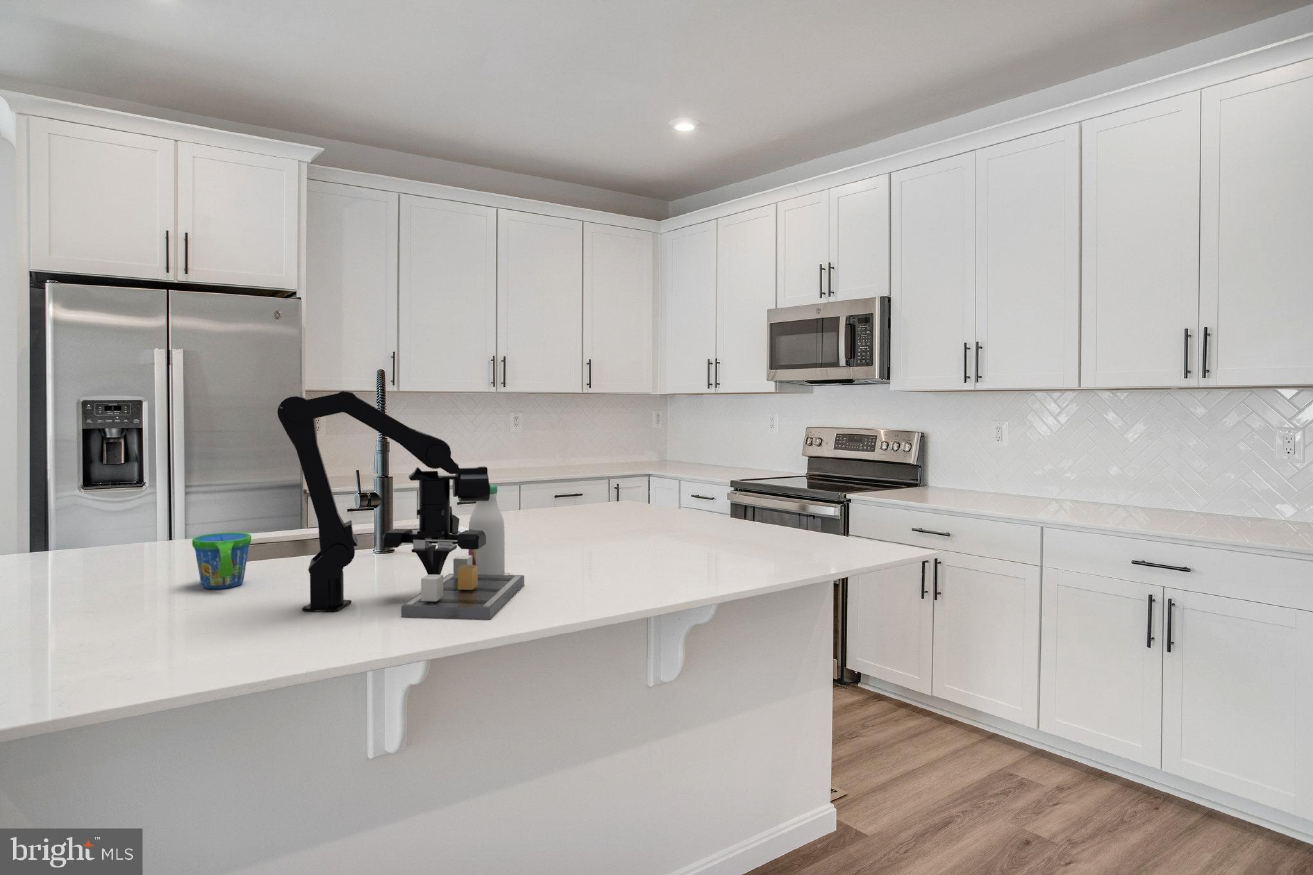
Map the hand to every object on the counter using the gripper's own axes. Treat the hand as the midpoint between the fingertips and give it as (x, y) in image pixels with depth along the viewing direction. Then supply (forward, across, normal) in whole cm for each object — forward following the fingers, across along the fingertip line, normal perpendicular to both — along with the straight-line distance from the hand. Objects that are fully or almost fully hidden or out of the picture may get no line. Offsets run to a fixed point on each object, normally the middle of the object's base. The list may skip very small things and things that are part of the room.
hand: (434, 583), depth 150 cm
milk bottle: (+3, -4, -20) cm, 21 cm away
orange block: (+1, -6, 0) cm, 7 cm away
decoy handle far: (+1, -3, -9) cm, 9 cm away
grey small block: (+1, -3, +9) cm, 9 cm away
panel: (+3, -6, 0) cm, 7 cm away
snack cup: (+3, +46, -6) cm, 47 cm away
